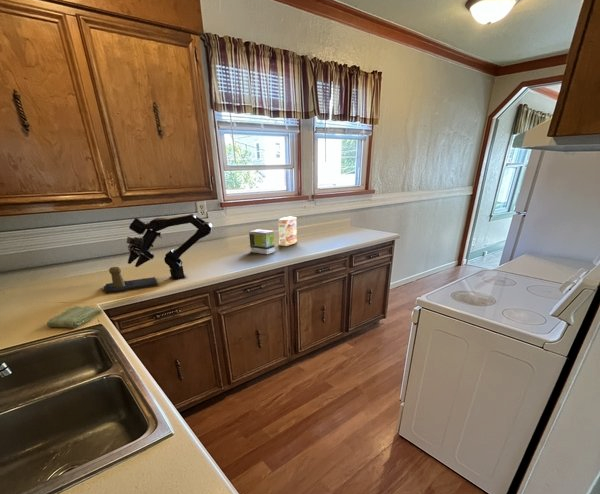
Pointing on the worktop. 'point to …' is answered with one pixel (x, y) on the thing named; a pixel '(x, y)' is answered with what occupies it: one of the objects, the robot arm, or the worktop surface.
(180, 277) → the robot arm
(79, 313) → the washcloth
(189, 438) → the worktop surface
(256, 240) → the tea box
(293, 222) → the coffeecake box
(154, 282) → the socket pad
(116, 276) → the cork
